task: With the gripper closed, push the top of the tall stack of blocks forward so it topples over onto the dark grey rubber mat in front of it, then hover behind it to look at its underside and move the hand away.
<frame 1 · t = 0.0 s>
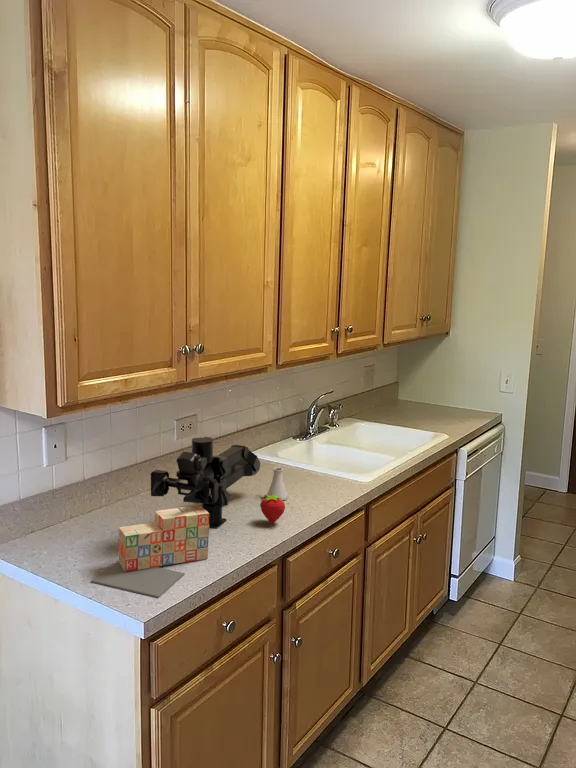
hand: (167, 496, 160), 17 cm above the worktop, tool horizontal, fingers open, 9 cm apart
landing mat: (138, 578, 153), on the worktop
strawberry: (272, 524, 188), on the worktop
flask: (277, 498, 209), on the worktop
stack of blocks: (163, 561, 162), on the worktop, touching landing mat
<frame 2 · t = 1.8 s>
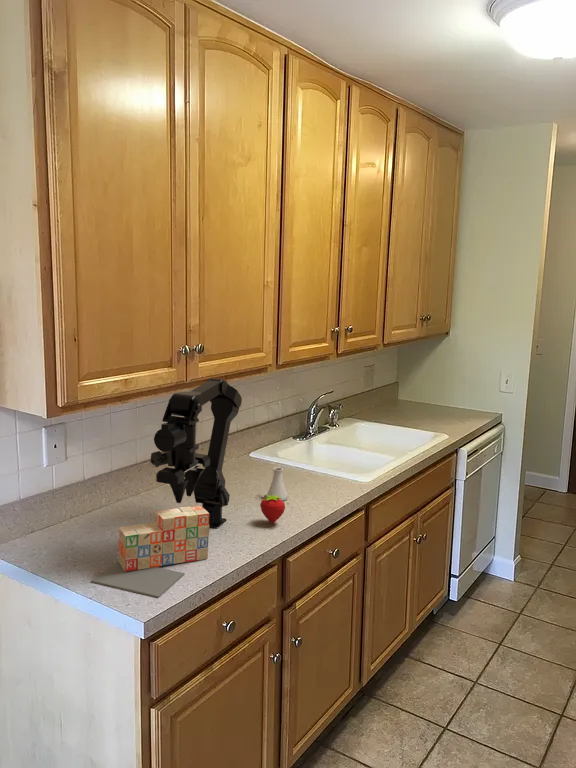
hand: (183, 499, 169), 13 cm above the worktop, tool pointing down, fingers open, 5 cm apart
nothing on the worktop moved.
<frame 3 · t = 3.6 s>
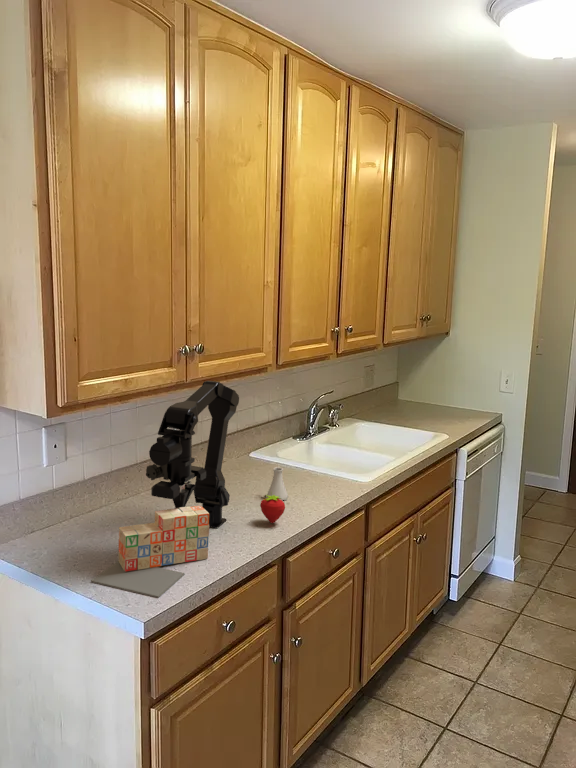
hand: (179, 512, 167), 10 cm above the worktop, tool pointing down, fingers closed
stack of blocks: (163, 561, 162), on the worktop, touching gripper, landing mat
everything else where it was.
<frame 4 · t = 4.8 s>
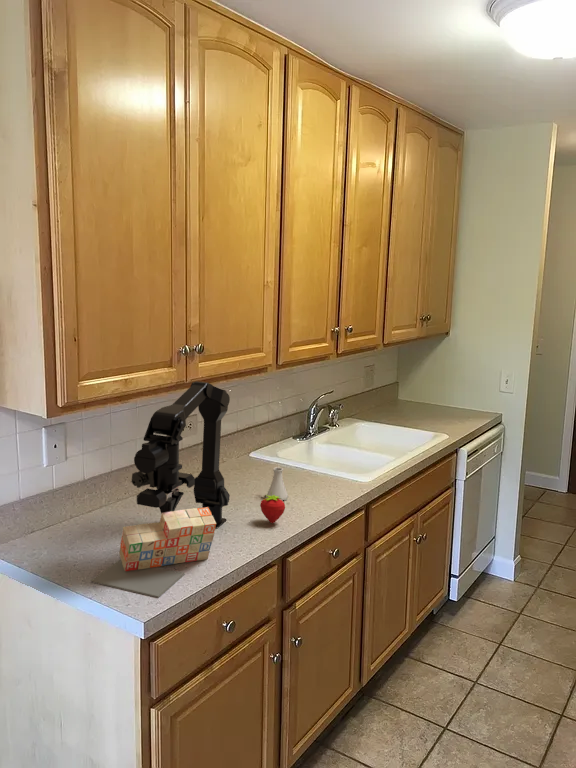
hand: (166, 521, 161), 10 cm above the worktop, tool pointing down, fingers closed
stack of blocks: (164, 557, 162), point 1 cm above the worktop, touching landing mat
everything else where it was.
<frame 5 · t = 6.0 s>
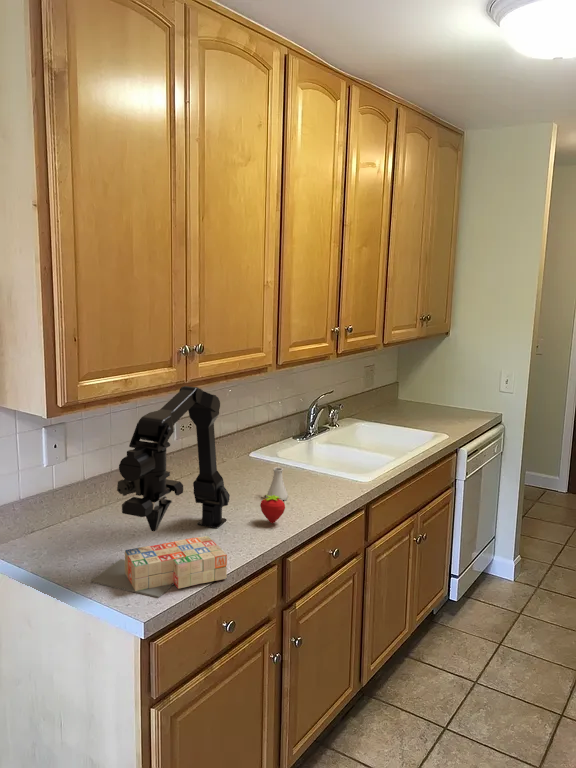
hand: (153, 530, 156), 10 cm above the worktop, tool pointing down, fingers closed
stack of blocks: (167, 553, 159), point 3 cm above the worktop, touching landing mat
everything else where it was.
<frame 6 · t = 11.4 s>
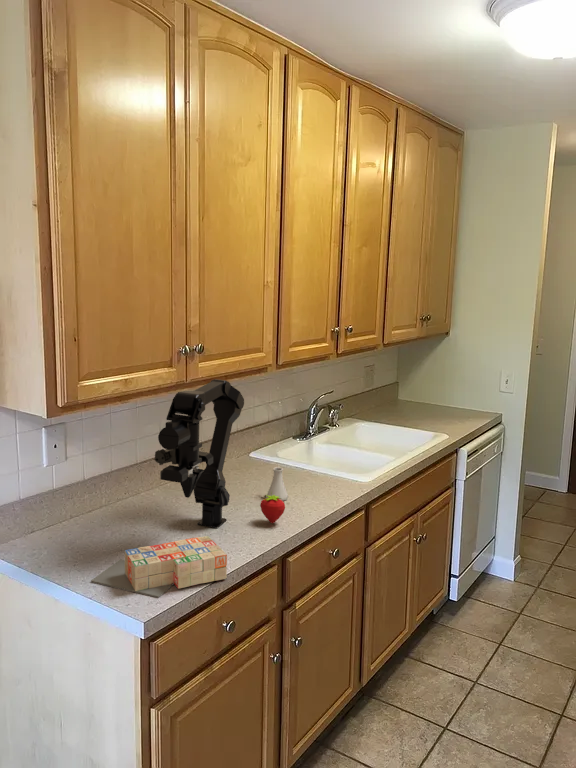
hand: (187, 497, 171), 13 cm above the worktop, tool pointing down, fingers closed
nothing on the worktop moved.
at the end: stack of blocks tilted 90°; stack of blocks inside the target area (3.6 cm from its centre), point 3.4 cm above the worktop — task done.
